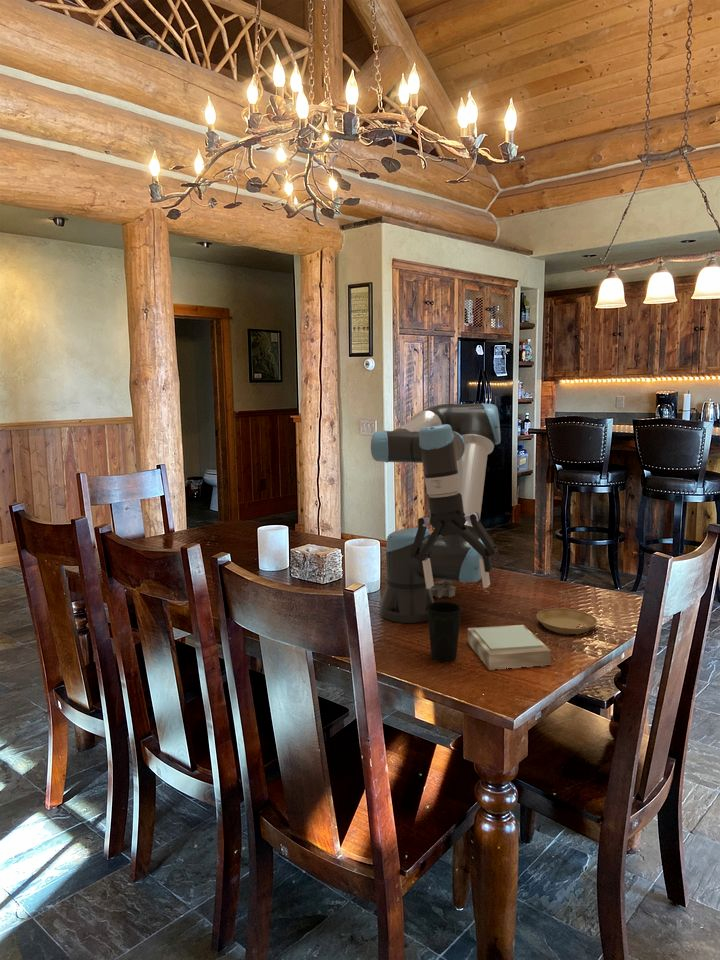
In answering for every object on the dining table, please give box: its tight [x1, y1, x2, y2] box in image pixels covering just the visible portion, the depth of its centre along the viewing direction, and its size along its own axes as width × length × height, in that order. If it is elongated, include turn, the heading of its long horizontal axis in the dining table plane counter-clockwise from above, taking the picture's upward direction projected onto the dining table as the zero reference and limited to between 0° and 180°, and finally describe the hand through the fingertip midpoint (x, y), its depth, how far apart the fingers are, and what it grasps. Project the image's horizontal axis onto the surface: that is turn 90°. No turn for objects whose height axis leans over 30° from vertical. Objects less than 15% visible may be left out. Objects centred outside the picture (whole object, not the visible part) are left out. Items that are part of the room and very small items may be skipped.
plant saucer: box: [536, 607, 598, 635], centre depth 166 cm, size 15×15×3 cm
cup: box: [427, 601, 462, 663], centre depth 147 cm, size 8×8×12 cm
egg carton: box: [430, 580, 457, 599], centre depth 193 cm, size 11×8×4 cm
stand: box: [466, 624, 552, 671], centre depth 150 cm, size 16×14×4 cm
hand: (457, 586), depth 147 cm, fingers open, 13 cm apart
